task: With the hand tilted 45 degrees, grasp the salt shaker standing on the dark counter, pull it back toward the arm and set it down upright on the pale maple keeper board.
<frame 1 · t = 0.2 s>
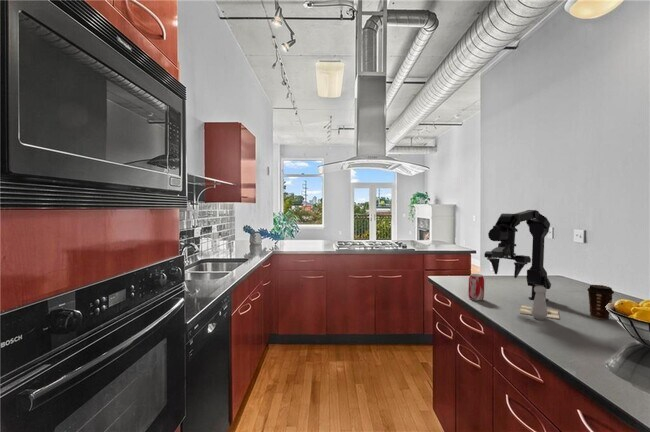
hand: (505, 275, 158), 14 cm above the worktop, tool pointing down, fingers open, 9 cm apart
salt shaker: (539, 318, 144), on the worktop
keeper board: (539, 312, 152), on the worktop
soda can: (475, 299, 172), on the worktop
coffee cup: (599, 317, 146), on the worktop
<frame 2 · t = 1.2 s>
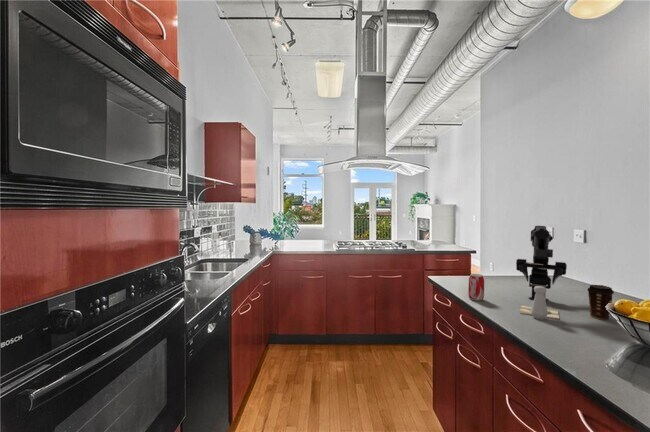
hand: (540, 282, 150), 13 cm above the worktop, tool tilted 45°, fingers open, 9 cm apart
nothing on the worktop moved.
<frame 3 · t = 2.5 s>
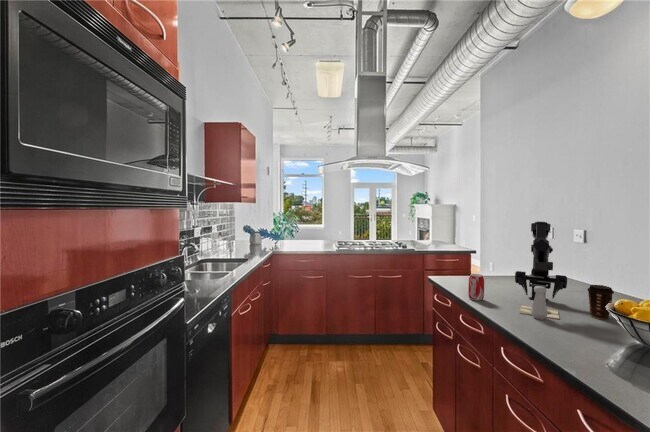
hand: (539, 296, 144), 9 cm above the worktop, tool tilted 45°, fingers open, 9 cm apart
nothing on the worktop moved.
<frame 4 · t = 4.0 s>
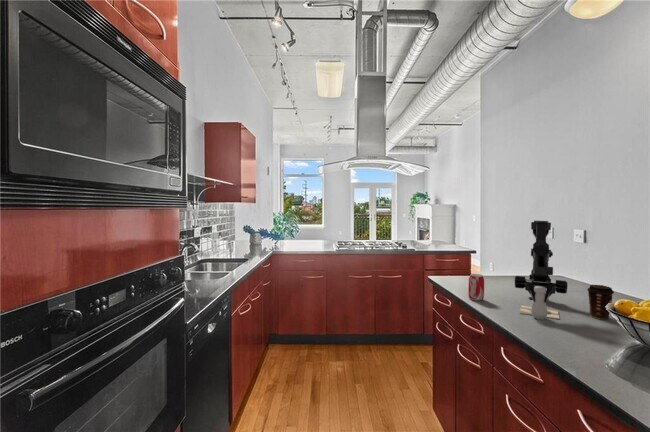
hand: (539, 301, 143), 7 cm above the worktop, tool tilted 45°, fingers closed on salt shaker, 3 cm apart
salt shaker: (539, 318, 144), on the worktop, touching gripper
everything else where it was.
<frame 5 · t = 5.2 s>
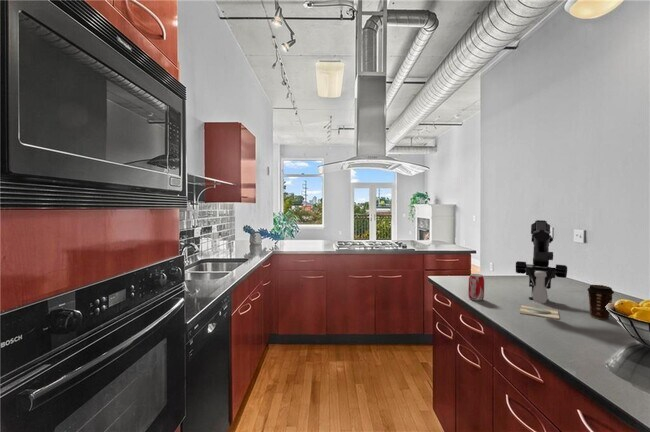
hand: (540, 286, 146), 13 cm above the worktop, tool tilted 45°, fingers closed on salt shaker, 3 cm apart
salt shaker: (539, 302, 148), point 5 cm above the worktop, touching gripper
everything else where it was.
when the fingers open (9 cm above the worktop, at t = 6.7 s): salt shaker drops 1 cm, resting on keeper board.
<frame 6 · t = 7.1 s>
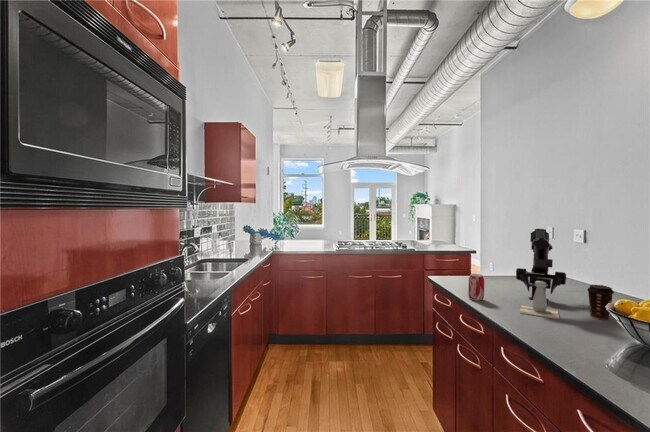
hand: (539, 292, 151), 9 cm above the worktop, tool tilted 45°, fingers open, 8 cm apart
salt shaker: (539, 311, 152), resting on keeper board
everything else where it was.
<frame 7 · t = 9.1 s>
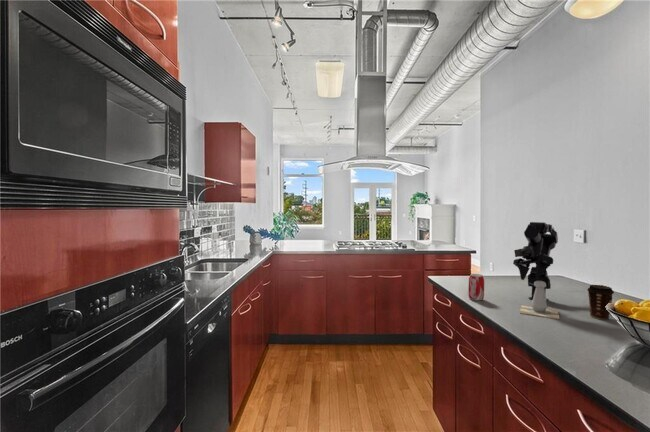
hand: (529, 279, 159), 13 cm above the worktop, tool tilted 25°, fingers open, 9 cm apart
nothing on the worktop moved.
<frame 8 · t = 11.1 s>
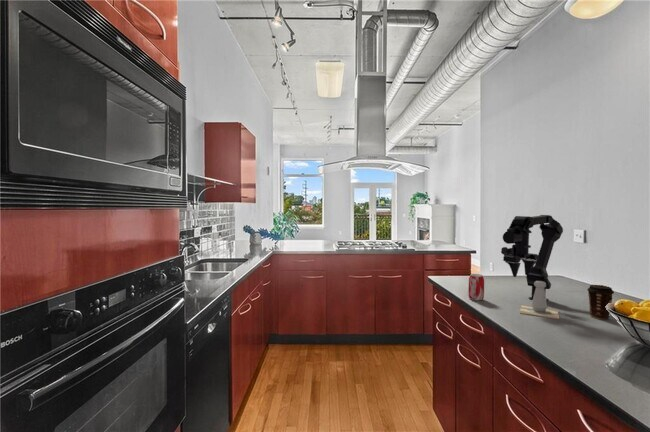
hand: (520, 275, 165), 13 cm above the worktop, tool pointing down, fingers open, 9 cm apart
nothing on the worktop moved.
at the end: salt shaker inside the target area on the keeper board (0.2 cm from its centre), point 0.2 cm above the keeper board's base; salt shaker tilted 0°; the gripper is holding nothing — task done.
